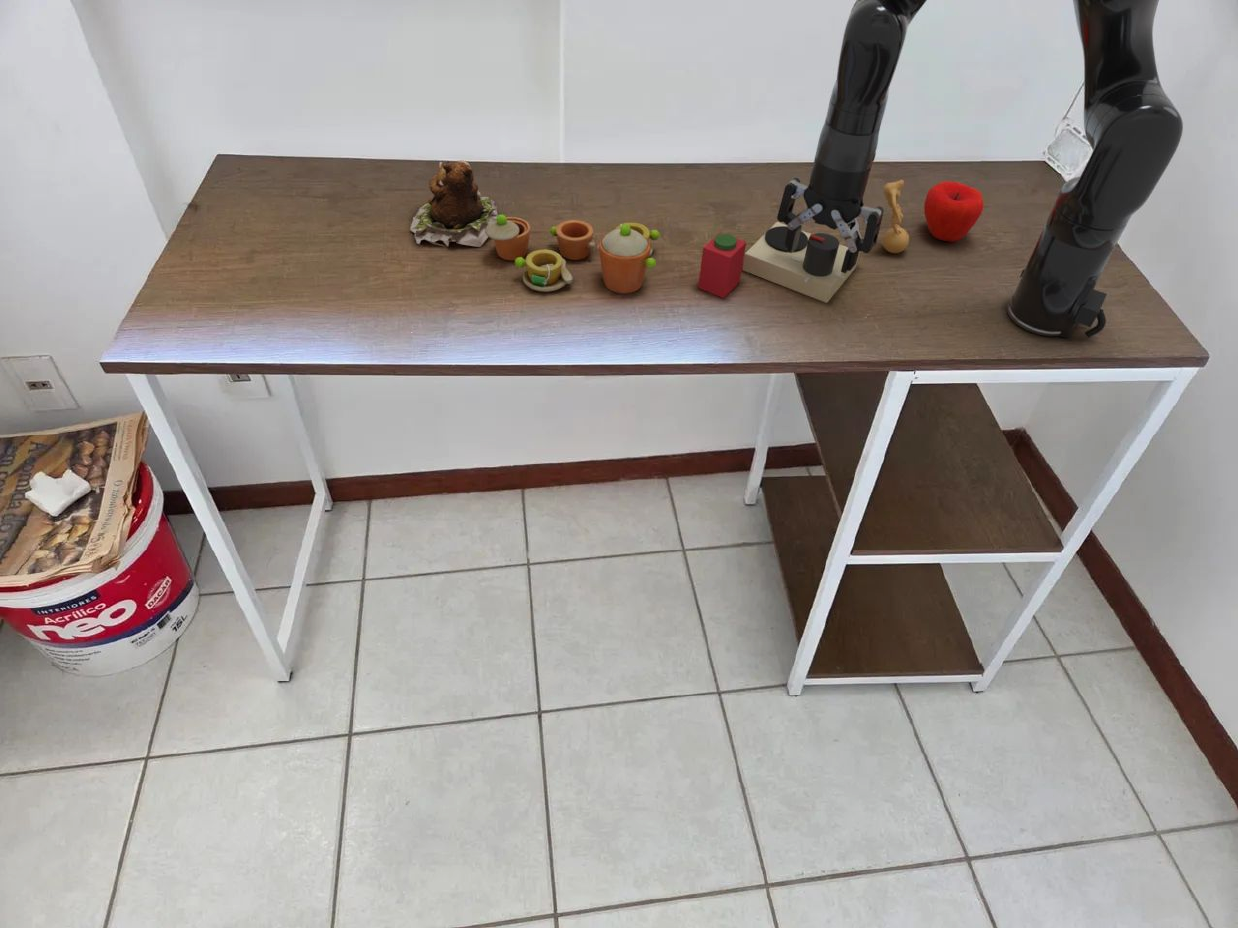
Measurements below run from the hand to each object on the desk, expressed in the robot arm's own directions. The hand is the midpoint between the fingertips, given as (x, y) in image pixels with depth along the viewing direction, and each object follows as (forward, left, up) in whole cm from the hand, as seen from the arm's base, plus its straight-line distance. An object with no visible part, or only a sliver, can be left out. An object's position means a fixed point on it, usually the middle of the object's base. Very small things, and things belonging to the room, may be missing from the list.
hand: (818, 260), depth 127 cm
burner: (+7, -4, -1) cm, 8 cm away
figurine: (-6, -16, -5) cm, 17 cm away
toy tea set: (+31, +17, -5) cm, 36 cm away
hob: (+3, -3, -4) cm, 6 cm away
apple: (-12, -26, -5) cm, 29 cm away
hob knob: (0, 0, -1) cm, 1 cm away
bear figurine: (+53, +18, -5) cm, 57 cm away
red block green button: (+11, +8, -4) cm, 15 cm away
